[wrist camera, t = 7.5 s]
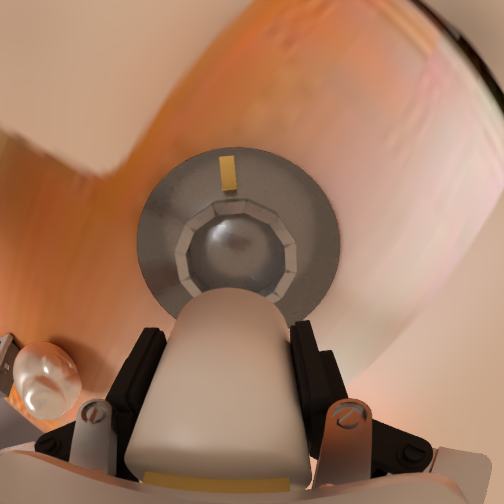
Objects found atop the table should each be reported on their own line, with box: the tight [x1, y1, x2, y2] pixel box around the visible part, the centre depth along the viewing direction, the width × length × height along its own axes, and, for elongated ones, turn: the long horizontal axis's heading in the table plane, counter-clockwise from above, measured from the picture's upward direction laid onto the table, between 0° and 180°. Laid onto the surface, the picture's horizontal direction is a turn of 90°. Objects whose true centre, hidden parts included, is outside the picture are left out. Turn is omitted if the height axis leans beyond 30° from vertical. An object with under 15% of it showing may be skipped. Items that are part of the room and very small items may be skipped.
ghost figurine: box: [13, 342, 82, 420], centre depth 22 cm, size 9×10×10 cm
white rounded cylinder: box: [124, 288, 312, 494], centre depth 8 cm, size 5×5×8 cm
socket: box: [137, 147, 340, 328], centre depth 21 cm, size 16×16×2 cm
